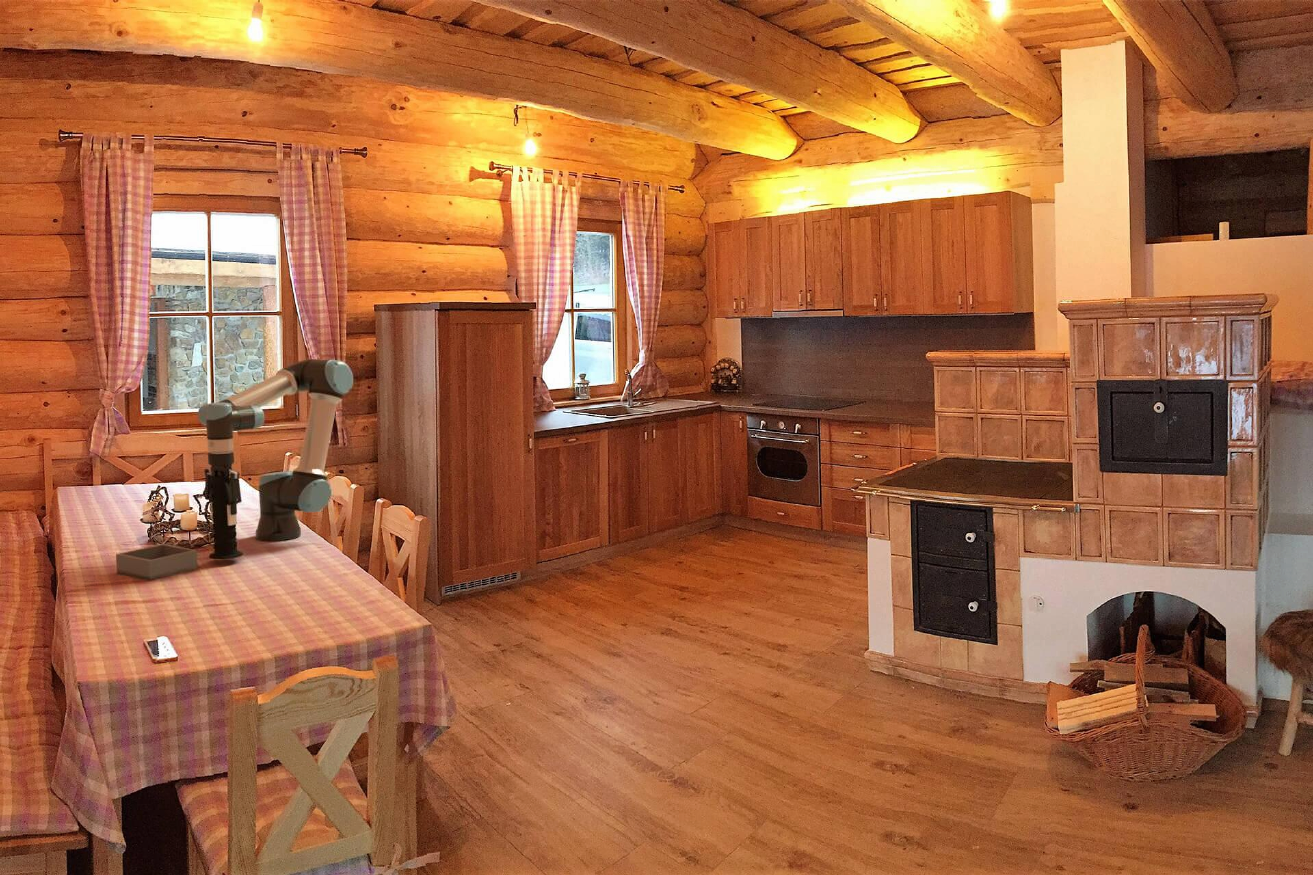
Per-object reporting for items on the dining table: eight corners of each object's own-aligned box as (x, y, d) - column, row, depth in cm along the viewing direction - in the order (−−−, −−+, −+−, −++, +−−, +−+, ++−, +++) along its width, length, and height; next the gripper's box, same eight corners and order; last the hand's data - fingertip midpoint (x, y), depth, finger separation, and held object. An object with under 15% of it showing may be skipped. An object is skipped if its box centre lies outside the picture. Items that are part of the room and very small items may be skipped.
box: (164, 562, 321) (163, 543, 320) (197, 569, 314) (196, 550, 313) (117, 573, 307) (116, 554, 307) (150, 580, 300) (149, 561, 299)
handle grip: (202, 558, 318) (230, 560, 317) (197, 475, 315) (226, 477, 313) (221, 550, 328) (249, 552, 326) (217, 470, 325) (245, 472, 323)
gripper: (189, 450, 319) (193, 521, 322) (231, 456, 310) (235, 529, 313) (210, 447, 326) (213, 517, 329) (252, 452, 316) (255, 524, 319)
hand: (224, 523), depth 321 cm, fingers closed on handle grip, 7 cm apart
